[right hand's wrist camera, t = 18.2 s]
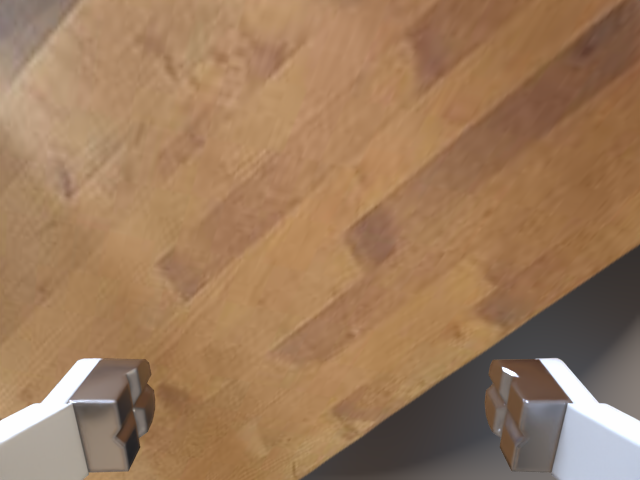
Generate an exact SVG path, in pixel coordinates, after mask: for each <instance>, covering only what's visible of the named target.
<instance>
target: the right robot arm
mask: <svg viewBox="0 0 640 480" xmlns="http://www.w3.org/2000/svg"><path fill="white" fill-rule="evenodd" d="M150 376H151V370H150V365H149V362H148V361H147V360H146V359H102V358H84V359H81V360H78V361H77V362H76V363H75V365H74V366H73V367H72V368H71V369H70V370H69V371H68V373H67V374H66V375H65V376H64V377H63V378H62V380H61V381H60V382H59V383H58V384H57V385H56V387H55V388H54V389H53V390H52V391H51V392H50V394H49V395H48V396H47V397H46V398H45V399H44V400H43V402H42V403H41V404H32V405H30V406H28V407H26V408H24V409H22V410H21V411H19V412H17V413H15V414H13V415H11V416H9V417H7V418H5V419H3V420H1V421H0V480H83V479H84V478H85V477H86V476H88V475H89V473H88V472H120V471H129V469H130V467H131V465H132V463H133V461H134V459H135V457H136V455H137V453H138V451H139V449H140V443H139V438H140V437H141V436H143V435H144V434H145V433H147V432H148V430H149V428H150V426H151V423H152V420H153V416H154V411H155V395H154V390H153V389H152V388H151V387H150V386H149V385H148V384H147V382H148V380H149V378H150ZM489 376H490V378H491V380H492V382H493V384H492V385H491V386H490V387H489V388H488V389H487V390H486V396H485V410H486V417H487V420H488V423H489V426H490V428H491V430H492V432H493V433H495V434H496V435H498V436H499V437H500V438H501V443H500V449H501V451H502V453H503V455H504V457H505V459H506V461H507V463H508V465H509V467H510V469H511V471H519V472H552V473H551V474H552V475H553V476H554V477H555V478H556V479H557V480H640V421H639V420H637V419H635V418H633V417H631V416H629V415H627V414H625V413H623V412H621V411H619V410H617V409H616V408H614V407H612V406H610V405H608V404H599V403H598V402H597V400H596V399H595V398H594V397H593V396H592V395H591V394H590V392H589V391H588V390H587V389H586V388H585V387H584V385H583V384H582V383H581V382H580V381H579V380H578V378H577V377H576V376H575V375H574V374H573V373H572V372H571V370H570V369H569V368H568V367H567V366H566V365H565V363H564V362H563V361H562V360H560V359H558V358H546V359H523V360H493V361H492V363H491V365H490V370H489Z"/></svg>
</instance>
